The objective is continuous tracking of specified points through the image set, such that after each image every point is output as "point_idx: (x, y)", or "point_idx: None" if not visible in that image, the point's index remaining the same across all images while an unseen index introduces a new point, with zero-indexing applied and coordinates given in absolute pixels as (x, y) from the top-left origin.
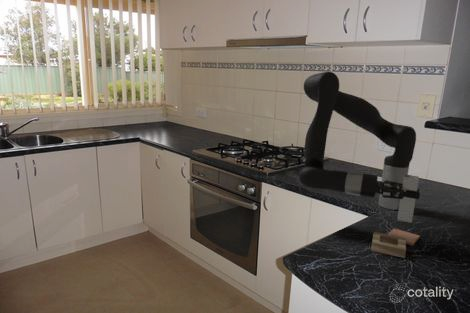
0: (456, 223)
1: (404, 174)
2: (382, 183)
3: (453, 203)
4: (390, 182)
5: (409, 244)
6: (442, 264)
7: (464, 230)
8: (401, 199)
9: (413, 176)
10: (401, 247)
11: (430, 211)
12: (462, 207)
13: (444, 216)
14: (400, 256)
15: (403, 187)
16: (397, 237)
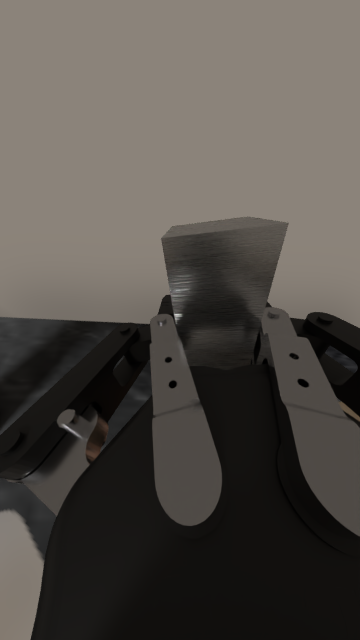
0: (95, 328)
1: (162, 237)
2: (172, 544)
3: (7, 327)
4: (156, 393)
5: None
6: None
7: (122, 323)
8: (248, 363)
9: (193, 226)
10: (349, 413)
11: (33, 355)
12: (29, 320)
13: (63, 339)
14: None
15: (263, 309)
16: None
